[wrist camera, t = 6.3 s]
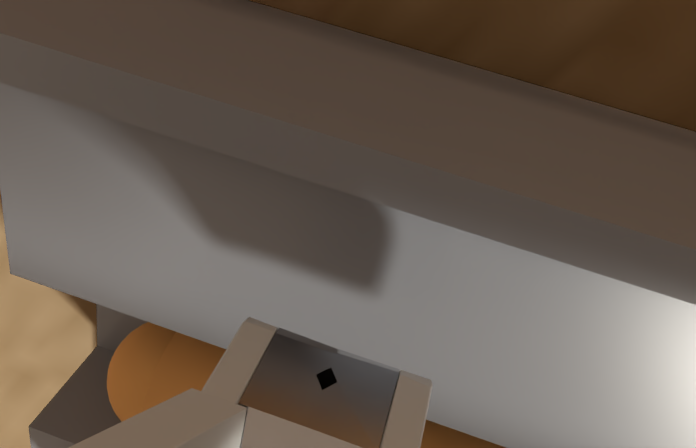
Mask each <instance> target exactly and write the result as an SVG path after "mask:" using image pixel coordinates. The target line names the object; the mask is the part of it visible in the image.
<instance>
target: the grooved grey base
mask: <svg viewBox="0 0 696 448" xmlns="http://www.w3.org/2000/svg"><path fill="white" fill-rule="evenodd" d="M0 191H1V199H2V207H3V216H4V224H5V233H6V241H7V249H8V258H9V266H10V274H13V275H16V276H19V277H21V278H24V279H27V280H30V281H33V282H36V283H38V284H41V285H44V286H47V287H50V288H53V289H56V290H58V291H61V292H64V293H67V294H70V295H73V296H76V297H78V298H81V299H84V300H87V301H90V302H93V303H95V304H96V307H97V347H96V348H95V349H94V350H93V351H92V353H91V354H90V355H89V356H88V357H87V359H86V360H85V361H84V362H83V363H82V364H81V366H80V367H79V368H78V369H77V370H76V371H75V373H74V374H73V375H72V376H71V377H70V379H69V380H68V381H67V382H66V383H65V384H64V386H63V387H62V388H61V389H60V390H59V391H58V393H57V394H56V395H55V396H54V397H53V398H52V400H51V401H50V402H49V403H48V404H47V406H46V407H45V408H44V409H43V410H42V411H41V413H40V414H39V415H38V416H37V417H36V418H35V420H34V421H33V422H32V423H31V424H30V425H29V434H30V442H31V448H69V447H71V446H73V445H75V444H77V443H79V442H81V441H83V440H85V439H87V438H89V437H91V436H93V435H96V434H98V433H100V432H102V431H104V430H106V429H108V428H110V427H112V426H114V425H116V424H118V423H120V422H121V420H120V419H119V418H118V416H117V415H116V414H115V412H114V410H113V408H112V406H111V403H110V401H109V396H108V391H107V374H108V368H109V364H110V361H111V359H112V356H113V354H114V352H115V351H116V349H117V347H118V346H119V344H120V343H121V342H122V341H123V340H124V339H125V338H126V337H127V336H128V335H129V334H130V333H131V332H132V331H133V330H135V329H136V328H138V327H139V326H141V325H142V324H145V323H147V322H150V323H152V324H155V325H158V326H161V327H164V328H167V329H170V330H172V331H175V332H178V333H181V334H184V335H187V336H190V337H192V338H195V339H198V340H201V341H204V342H207V343H209V344H212V345H215V346H218V347H221V348H224V349H227V347H228V346H229V344H230V343H231V341H232V339H233V338H234V336H235V334H236V333H237V331H238V329H239V328H240V326H241V324H242V323H243V322H244V321H245V320H246V319H247V318H248V317H251V318H254V319H256V320H259V321H262V322H264V323H267V324H270V325H272V326H275V327H278V328H282V329H285V330H288V331H290V332H293V333H296V334H298V335H301V336H304V337H307V338H309V339H312V340H315V341H317V342H320V343H323V344H325V345H328V346H331V347H333V348H336V349H340V350H343V351H346V352H349V353H352V354H355V355H358V356H361V357H364V358H367V359H370V360H373V361H376V362H379V363H382V364H385V365H388V366H391V367H394V368H397V369H399V371H400V370H403V371H406V372H409V373H412V374H415V375H418V376H421V377H424V378H427V379H430V380H431V381H432V385H433V386H432V391H431V396H430V401H429V407H428V412H427V417H426V420H429V421H432V422H435V423H437V424H440V425H443V426H446V427H449V428H452V429H455V430H457V431H460V432H463V433H466V434H469V435H472V436H475V437H477V438H480V439H483V440H486V441H489V442H492V443H494V444H497V445H500V446H503V447H506V448H696V132H694V131H691V130H688V129H684V128H681V127H677V126H674V125H671V124H667V123H664V122H660V121H657V120H654V119H650V118H647V117H643V116H640V115H637V114H633V113H630V112H626V111H623V110H619V109H616V108H613V107H609V106H606V105H602V104H599V103H596V102H592V101H589V100H585V99H582V98H579V97H575V96H572V95H568V94H565V93H562V92H558V91H555V90H551V89H548V88H545V87H541V86H538V85H534V84H531V83H528V82H524V81H521V80H517V79H514V78H511V77H507V76H504V75H500V74H497V73H494V72H490V71H487V70H483V69H480V68H477V67H473V66H470V65H466V64H463V63H460V62H456V61H453V60H449V59H446V58H443V57H439V56H436V55H432V54H429V53H426V52H422V51H419V50H415V49H412V48H409V47H405V46H402V45H398V44H395V43H392V42H388V41H385V40H381V39H378V38H375V37H371V36H368V35H364V34H361V33H358V32H354V31H351V30H347V29H344V28H341V27H337V26H334V25H330V24H327V23H324V22H320V21H317V20H313V19H310V18H307V17H303V16H300V15H296V14H293V13H290V12H286V11H283V10H279V9H276V8H273V7H269V6H266V5H262V4H259V3H256V2H252V1H249V0H0Z"/></svg>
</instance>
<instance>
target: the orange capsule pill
mask: <svg viewBox="0 0 696 448" xmlns="http://www.w3.org/2000/svg"><path fill="white" fill-rule="evenodd" d="M225 351H226V349H224V348H221V347H218V346H215V345H212V344H209V343H207V342H204V341H201V340H198V339H195V338H192V337H190V336H187V335H184V334H181V333H178V332H175V331H172V330H170V329H167V328H164V327H161V326H158V325H155V324H152V323H150V322H147V323H145V324H142V325H141V326H139V327H138V328H136V329H135V330H133V331H132V332H131V333H130V334H129V335H128V336H127V337H126V338H125V339H124V340H123V341H122V342H121V343H120V344H119V346H118V347H117V349H116V351H115V352H114V354H113V356H112V359H111V361H110V364H109V368H108V374H107V391H108V396H109V401H110V403H111V406H112V408H113V410H114V412H115V414H116V415H117V416H118V418H119V419H120V420H121V422H122V421H125V420H127V419H129V418H131V417H133V416H135V415H137V414H139V413H141V412H143V411H145V410H147V409H149V408H151V407H154V406H156V405H158V404H160V403H162V402H164V401H166V400H168V399H170V398H172V397H174V396H176V395H178V394H181V393H183V392H185V391H187V390H189V389H191V388H193V389H196V390H199V391H201V390H202V389H203V387H204V385H205V384H206V382H207V380H208V379H209V377H210V375H211V374H212V372H213V371H214V369H215V367H216V366H217V364H218V362H219V361H220V359H221V357H222V356H223V354H224V352H225ZM420 448H506V447H503V446H500V445H497V444H494V443H492V442H489V441H486V440H483V439H480V438H477V437H475V436H472V435H469V434H466V433H463V432H460V431H457V430H455V429H452V428H449V427H446V426H443V425H440V424H437V423H435V422H432V421H429V420H426V422H425V427H424V432H423V437H422V442H421V447H420Z"/></svg>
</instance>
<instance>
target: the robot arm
mask: <svg viewBox="0 0 696 448" xmlns="http://www.w3.org/2000/svg"><path fill="white" fill-rule="evenodd" d="M432 386H433V385H432V381H431V380H430V379H427V378H424V377H421V376H418V375H415V374H412V373H409V372H406V371H403V370H400V371H399V369H397V368H394V367H391V366H388V365H385V364H382V363H379V362H376V361H373V360H370V359H367V358H364V357H361V356H358V355H355V354H352V353H349V352H346V351H343V350H340V349H336V348H333V347H331V346H328V345H325V344H323V343H320V342H317V341H315V340H312V339H309V338H307V337H304V336H301V335H298V334H296V333H293V332H290V331H288V330H285V329H282V328H278V327H275V326H272V325H270V324H267V323H264V322H262V321H259V320H256V319H254V318H251V317H248V318H247V319H246V320H245V321H244V322H243V323H242V324H241V326H240V328H239V329H238V331H237V333H236V334H235V336H234V338H233V339H232V341H231V343H230V344H229V346H228V347H227V349H226V351H225V352H224V354H223V356H222V357H221V359H220V361H219V362H218V364H217V366H216V367H215V369H214V371H213V372H212V374H211V375H210V377H209V379H208V380H207V382H206V384H205V385H204V387H203V389H202V390H201V391H199V390H196V389H193V388H191V389H189V390H187V391H185V392H183V393H181V394H178V395H176V396H174V397H172V398H170V399H168V400H166V401H164V402H162V403H160V404H158V405H156V406H154V407H151V408H149V409H147V410H145V411H143V412H141V413H139V414H137V415H135V416H133V417H131V418H129V419H127V420H125V421H122V422H120V423H118V424H116V425H114V426H112V427H110V428H108V429H106V430H104V431H102V432H100V433H98V434H96V435H93V436H91V437H89V438H87V439H85V440H83V441H81V442H79V443H77V444H75V445H73V446H71V447H69V448H420V447H421V442H422V437H423V432H424V427H425V422H426V417H427V412H428V407H429V401H430V396H431V391H432Z"/></svg>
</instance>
